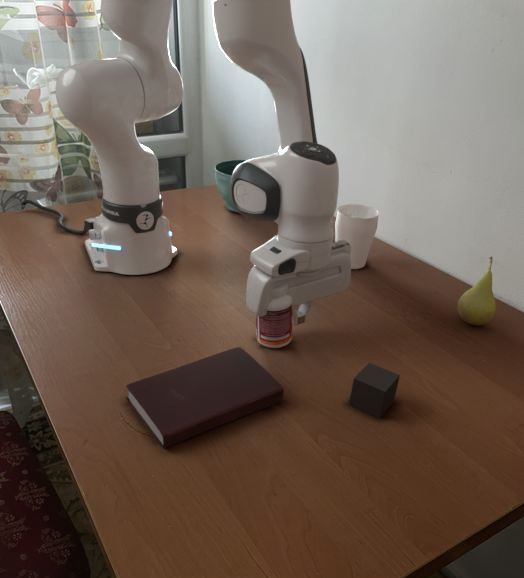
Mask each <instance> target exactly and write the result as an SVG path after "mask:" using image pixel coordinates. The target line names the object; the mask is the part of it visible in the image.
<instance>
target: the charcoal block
mask: <svg viewBox="0 0 524 578" xmlns="http://www.w3.org/2000/svg"><path fill="white" fill-rule="evenodd" d="M400 377H401V375H400V374H398V373H395V372H393V371H390V370H388V369H386V368H383V367H381V366H379V365H376V364H374V363H371V362H368V363H367V364H366V365H365V366H364V367H363V368H362V369H361V370H360V371H359V372H358V373H357V374H356V375H355V376H354V377H353V380H352V385H351V391H350V398H349V401H348V405H349V406H351V407H353V408H354V409H357V410H359V411H362V412H364V413H366V414H368V415H371V416H373V417H375V418H377V419H381V418H382V416H383V415H384V414H385V413H386V412H387V411H388V409H389V408H390V407H391V406H392V405H393V403H394V402H395V398H396V395H397V389H398V387H399V381H400Z"/></svg>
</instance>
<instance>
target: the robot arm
mask: <svg viewBox="0 0 524 578" xmlns="http://www.w3.org/2000/svg"><path fill="white" fill-rule="evenodd" d="M173 4H174V0H101V1H100V14H101V17H102V19H103V22H104V23H105V26H106V27H107V28H108V29H109V31H111V33H112V34H113V35H114V36H116V37H117V39H118V44H119V47H118V54H117V56H116V57H112V58H100V59H86V60H83V61H80V62H77V63H74V64H72V65H70V66H67V67H64V68H63V69H62V70H60V72H59V74H58V76H57V78H56V82H55V88H54V89H55V90H54V92H55V99H56V103H57V105H58V108H59V110H60V112H61V114H62V115H63V117H64V118H65V119H66V120H67V122H69V123H70V124H71V126H74V127H75V128H77V129H78V130H79V131H81V132H82V134H83V135H85V137H86V138H87V140H88V141H89V142H90V144H91V146H92V148H93V150H94V152H95V155H96V158H97V162H98V167H99V172H100V177H101V185H102V192H103V193H102V194H101V196H102V197H101V203H100V207H101V213H100V215H98V216H95V217H90V218H86V219H84V220H83V222H84V223H83V224H84V225H83V230H76V229H73V228H71V227H68V226H67V225H65V224H63V223H62V222H63V220H64V214H63V213H62V212H60V211H59V210H57V209H54V208H50V207H47V206H44V205H43V204H39V203H38V202H37V201H35V200H32V199H24V200H23V201H22V203H21V205H22V206H25V205H27V204H29V205H32V206H33V207H36V208H37V209H40V210H42V211H46V212H48V213H52V214H55V215H57V216H58V220H57V226H58V227H59V228H61V229H62V230H64V231H66V232H68V233H71V234H75V235H86V234H87V233H88V237H89V238H88V239H86V240H84V247H85V249H86V252H87V255H88V257H89V259H90V261H91V264H92V268H93V270H95V271H97V272H110V273H115V274H120V275H127V276H141V275H148V274H153V273H156V272H159V271H162V270H164V269H165V268H168V266H169V265H170V264H171V262H172V259H173V258H175V257H176V256H178V248H176V247H175V246H173V244H172V236H173V232H172V231H171V227H170V221H169V218H167V217H165V216H164V215H163V214H164V202H163V197H162V195H161V193H160V177H159V176H160V175H159V161H158V158H157V156H156V154H155V153H154V152H153V151H152V150H151V149H150V148H149V147H147V146H145V145H144V144H141V143H140V142H139V141H140V140H139V139H138V137H137V133H136V126H135V125H136V124H139V123H144V122H150V121H157V120H159V119H161V118H164V117H165V116H168V115H170V114H171V113H173V112H175V111H176V110H178V109H179V107H180V105H182V102H183V97H184V83H183V80H182V76H181V73H180V71H179V70H178V68H177V66H175V64H174V63H173V61H172V59H171V55H170V47H169V31H170V22H171V17H172V11H173V6H174V5H173ZM211 7H212V8H211V9H212V20H213V27H214V32H215V36H216V40H217V41H218V46H219V48H220V50H221V51H222V53H223V54H224V55H225V57H226V58H227V59H228V60H229V61H230V62H231V63H232V64H234V65H235V66H236V67H238V68H239V69H240V70H243V71H244V72H246V73H248V74H251V75H253V76H255V77H256V78H258V79H259V80H260V81H261V82H262V83H263V84H264V85H265V86H266V87H267V88H268V90H269V92H270V94H271V96H272V100H273V104H274V111H275V116H276V117H275V118H276V124H277V129H278V135H279V142H280V143H279V148H278V151H276V152H275V153H271V154H267V155H261V156H258V157H253V158H251V159H250V158H249V159H246V160H247V161H245V162H243V163H241V164H239V165H238V166H237V167H236V168H235V169H234V171H233V174H232V176H231V180H230V194H231V198H232V201H233V204H234V206H235V207H236V209H237V210H238V211H239V212H240V213H239V214H241V216H243V217H245V218H246V219H248V220H251V221H258V222H266V223H272V222H274V223H276V224H277V229H278V230H277V235H274V236H273V237H272V238H271V239H269V240H268V241H266V242H265V243H264V244H262V245H260V246H259V247H257V248H255V249H253V250H252V251H251V252H250V256H249V261H250V263H251V264H252V265H253V266H252V268H251V269H250V270H249V272H248V275H247V279H246V288H245V305H246V307H247V309H248V310H249V311H251V312H252V313H253V314H254V315H255V316H256V315H257V316H259V317H263V316H266V314H267V306H268V305H269V303H270V302H271V301H272V300H273V297H272V296H271V291H272V290H273V289H274V288H276V287H278V286H281V285H284V284H286V283H288V291H287V293H286V295H290V296H291V297H292V327H297V326H299V325H302V324H306V323H307V322H308V315H309V314H310V312H311V310H312V309H313V307H314V306H315V301H317V300H320V299H323V298H326V297H329V296H333V295H336V294H339V293H342V292H345V291H347V290H348V288H349V287H350V285H351V279H352V278H351V276H352V269H351V259H350V252H351V246H350V244H349V243H348V242H346V241H345V240H339V241H337V242H335V241H334V227H333V226H334V225H333V220H334V216H335V213H336V211H337V209H338V208H337V207H338V197H339V187H340V184H339V183H340V170H339V169H340V168H339V162H338V159H337V156H336V154H335V153H334V152H333V151H332V150H331V149H330V148H329V147H327V146H325V145H323V144H320V143H318V140H317V131H316V126H315V117H314V110H313V102H312V93H311V85H310V79H309V73H308V68H307V63H306V58H305V55H304V52H303V50H302V48H301V47H300V45H299V42H298V39H297V35H296V32H295V26H294V21H293V15H292V14H293V13H292V6H291V0H211ZM333 241H334V242H333Z"/></svg>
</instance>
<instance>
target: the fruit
mask: <svg viewBox="0 0 524 578" xmlns="http://www.w3.org/2000/svg"><path fill="white" fill-rule="evenodd" d="M488 259H489V266H488V268H487V271H485V272H484V273H483V275H482V276H481V277H480V278H479V279H478V280H477V281H476V283H475V284H474V285H473V286H472V287H471V288H469V289H468V290H466V291H464V292H463V294H462V295H461V296H460V298H459V299H458V302H457V311H458V314H459V315H460V317H461V319H462V320H463V321H464V322H465V323H468V324H469V325H472V326H482V325H485V324H486V323H488V322H489V321H491V320H492V318H493V317H494V315H495V313H496V309H497V303H496V298H495V295H494V292H493V273H492V265H493V256H492V255H491V256H489V258H488Z"/></svg>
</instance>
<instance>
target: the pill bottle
mask: <svg viewBox="0 0 524 578" xmlns="http://www.w3.org/2000/svg"><path fill="white" fill-rule="evenodd" d="M287 291H288V283H286V284H284V285H281V286H278V287H276V288H274V289H273V290H272V291H271V296H272V297H273V300H272V301H271V302H270V303H269V305H268V306H267V314H266V316H263V317H259V316H257V315H256V314H255V333H256V340H257V342H258V343H259V344H260V345H261V346H263V347H265V348H270V349H280V348H283V347H285V346H287V345H288V344H290V343H291V342H292V339H293V326H292V297H291V296H290V295H286V293H287Z"/></svg>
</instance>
